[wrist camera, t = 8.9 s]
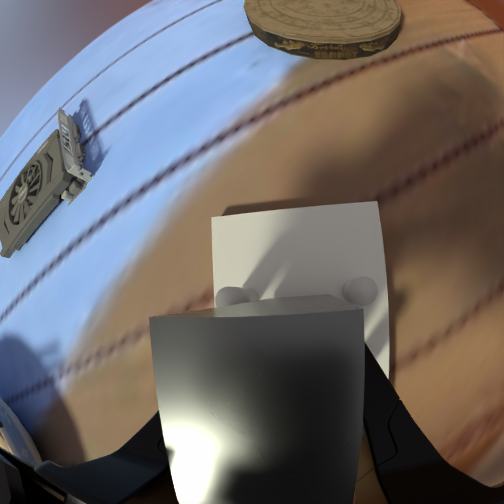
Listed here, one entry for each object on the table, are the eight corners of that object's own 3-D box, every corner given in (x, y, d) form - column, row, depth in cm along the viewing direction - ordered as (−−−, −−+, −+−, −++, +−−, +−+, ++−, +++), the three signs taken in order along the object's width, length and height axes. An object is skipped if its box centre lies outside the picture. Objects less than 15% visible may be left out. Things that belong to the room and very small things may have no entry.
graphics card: (63, 99, 24) (73, 165, 21) (82, 113, 28) (99, 179, 25) (-8, 190, 26) (-4, 264, 23) (11, 197, 30) (19, 268, 27)
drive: (332, 374, 16) (349, 532, 3) (273, 377, 17) (183, 520, 4) (329, 294, 17) (367, 307, 4) (269, 298, 17) (149, 317, 5)
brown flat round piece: (233, 58, 23) (224, 38, 20) (265, -15, 24) (260, -31, 21) (404, 77, 19) (410, 55, 16) (391, -4, 20) (392, -21, 17)
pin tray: (380, 431, 16) (395, 468, 11) (230, 435, 18) (205, 470, 13) (373, 206, 18) (391, 178, 13) (217, 221, 20) (186, 200, 15)
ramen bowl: (25, 487, 23) (-4, 500, 15) (-22, 372, 28) (-56, 376, 20) (112, 524, 19) (76, 553, 11) (36, 364, 24) (-19, 372, 16)
